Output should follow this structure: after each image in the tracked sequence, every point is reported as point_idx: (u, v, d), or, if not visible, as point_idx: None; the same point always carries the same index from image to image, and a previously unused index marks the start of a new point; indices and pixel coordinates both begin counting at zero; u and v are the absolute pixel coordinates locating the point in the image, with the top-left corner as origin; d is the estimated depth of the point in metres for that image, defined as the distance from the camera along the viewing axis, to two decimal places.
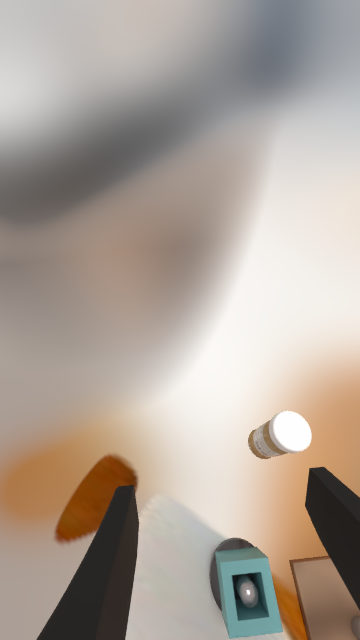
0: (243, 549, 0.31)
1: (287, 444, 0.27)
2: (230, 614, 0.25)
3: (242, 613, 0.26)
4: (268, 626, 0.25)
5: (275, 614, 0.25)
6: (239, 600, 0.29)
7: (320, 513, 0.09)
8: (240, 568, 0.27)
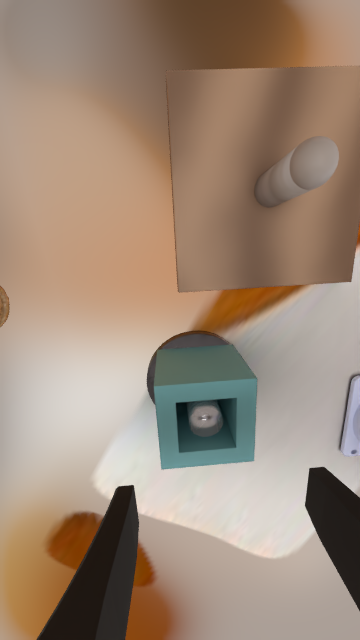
0: None
1: None
2: (227, 458, 0.14)
3: (229, 419, 0.15)
4: (247, 401, 0.13)
5: (234, 386, 0.13)
6: None
7: (320, 513, 0.09)
8: (170, 437, 0.14)
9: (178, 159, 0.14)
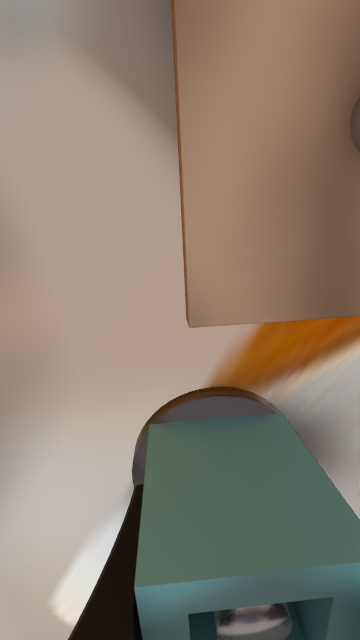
0: None
1: None
2: None
3: None
4: (357, 601, 0.06)
5: (331, 577, 0.05)
6: None
7: None
8: None
9: (192, 44, 0.06)
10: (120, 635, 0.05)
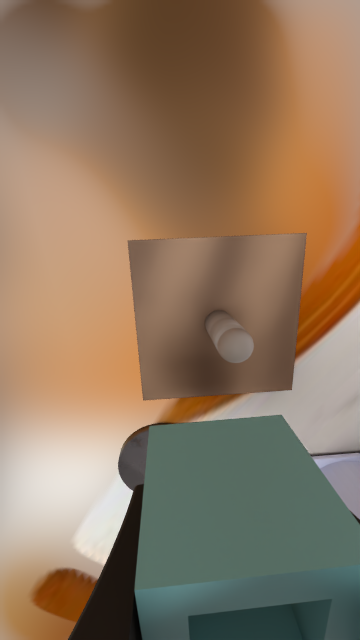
0: None
1: None
2: None
3: None
4: (355, 603, 0.06)
5: (330, 580, 0.05)
6: None
7: None
8: None
9: (139, 303, 0.17)
10: (120, 635, 0.05)
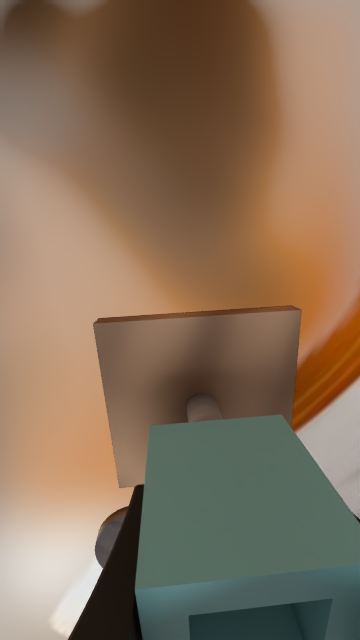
0: None
1: None
2: None
3: None
4: (356, 603, 0.06)
5: (330, 579, 0.05)
6: None
7: None
8: None
9: (110, 388, 0.15)
10: (120, 635, 0.05)
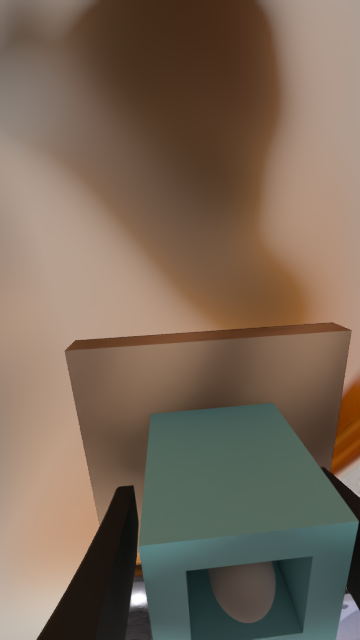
0: None
1: None
2: None
3: None
4: (334, 561, 0.06)
5: (310, 538, 0.06)
6: None
7: None
8: (174, 626, 0.07)
9: (91, 435, 0.11)
10: (86, 639, 0.05)
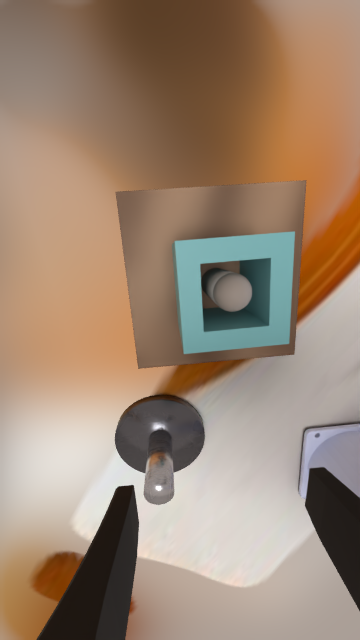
0: (174, 274, 0.16)
1: None
2: (259, 339, 0.12)
3: (258, 304, 0.13)
4: (283, 263, 0.11)
5: (268, 242, 0.11)
6: None
7: (320, 513, 0.09)
8: (193, 311, 0.12)
9: (131, 261, 0.16)
10: (86, 639, 0.05)
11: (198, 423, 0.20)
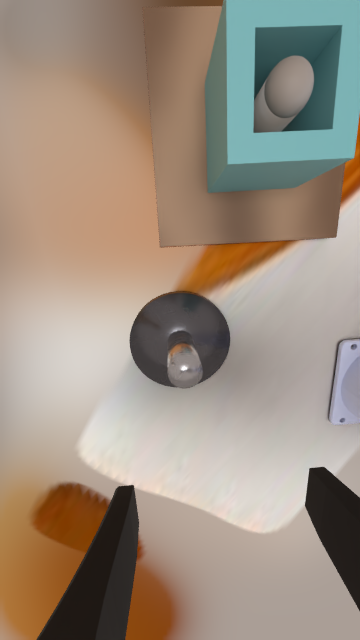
0: (207, 117, 0.13)
1: None
2: (319, 148, 0.10)
3: (313, 124, 0.11)
4: (357, 34, 0.09)
5: (341, 1, 0.09)
6: None
7: (320, 513, 0.09)
8: (243, 101, 0.10)
9: (156, 103, 0.14)
10: (86, 639, 0.05)
11: (223, 324, 0.18)
